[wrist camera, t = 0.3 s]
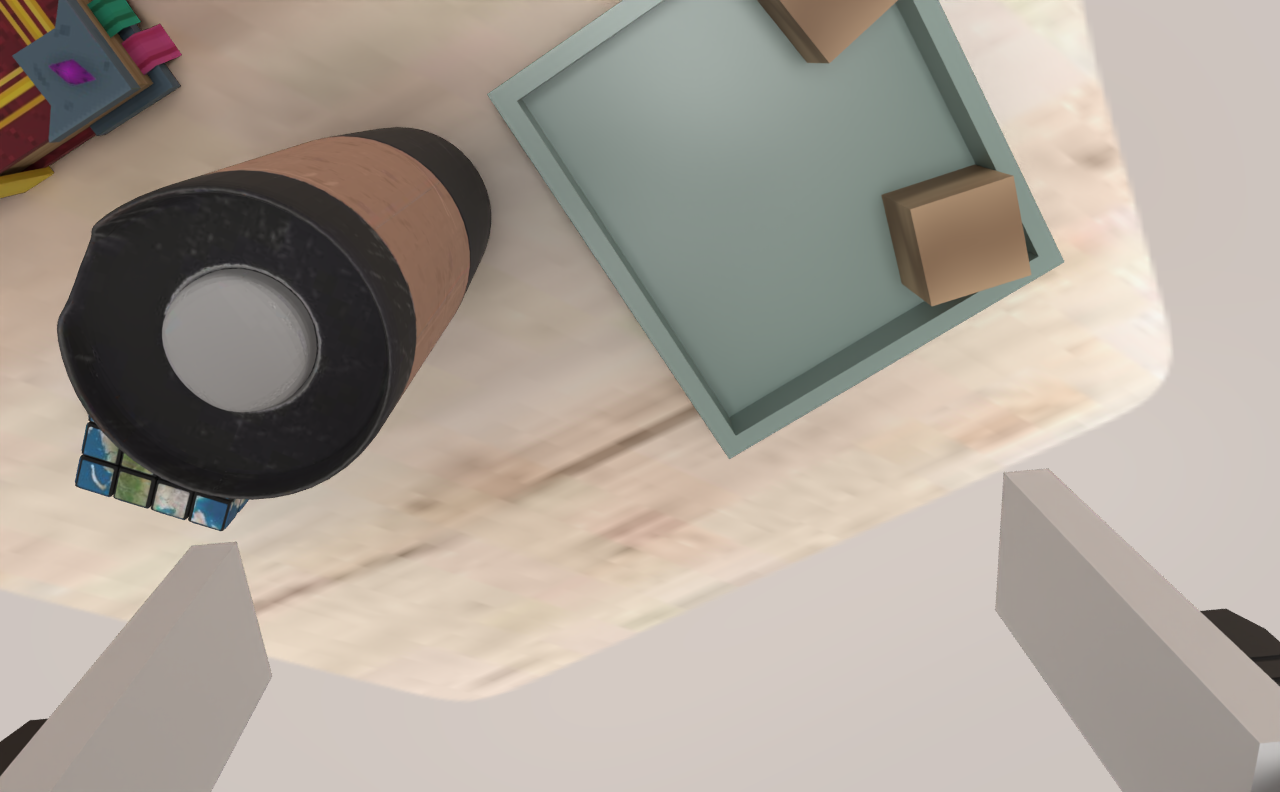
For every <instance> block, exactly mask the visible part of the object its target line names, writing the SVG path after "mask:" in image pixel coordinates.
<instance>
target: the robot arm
mask: <svg viewBox="0 0 1280 792" xmlns="http://www.w3.org/2000/svg"><path fill="white" fill-rule="evenodd" d="M1000 527H1001V528H1000V543H999V559H998V575H997V576H998V577H997V592H996V609H995V610H996V612H997V613H998V615H999V616H1000V617H1001V619H1002V620H1003V621H1004V623H1005V625H1006V626H1007V627H1008V629H1009V630H1010V632H1011V633H1012V635H1013V636H1014V637H1015V639H1016V640H1017V642H1018V643H1019V645H1020V646H1021V647H1022V649H1023V650H1024V652H1025V653H1026V655H1027V656H1028V657H1029V659H1030V660H1031V662H1032V663H1033V664H1034V666H1035V667H1036V669H1037V670H1038V672H1039V673H1040V675H1041V676H1042V677H1043V679H1044V680H1045V682H1046V683H1047V685H1048V686H1049V688H1050V689H1051V690H1052V692H1053V693H1054V695H1055V696H1056V697H1057V699H1058V700H1059V702H1060V703H1061V705H1062V706H1063V708H1064V709H1065V710H1066V712H1067V713H1068V715H1069V716H1070V717H1071V719H1072V720H1073V722H1074V723H1075V725H1076V726H1077V728H1078V729H1079V730H1080V732H1081V733H1082V735H1083V736H1084V738H1085V739H1086V740H1087V742H1088V743H1089V745H1090V746H1091V748H1092V749H1093V750H1094V752H1095V753H1096V755H1097V756H1098V758H1099V759H1100V760H1101V762H1102V763H1103V765H1104V766H1105V767H1106V769H1107V771H1108V772H1109V773H1110V775H1111V776H1112V778H1113V779H1114V781H1115V782H1116V783H1117V785H1118V786H1119V788H1120V789H1121V790H1122V792H1280V642H1279V641H1278V640H1277V639H1276V638H1275V637H1274V636H1273V635H1271V634H1270V633H1269V632H1268V631H1267V630H1266V629H1264V628H1262V627H1260V626H1258V625H1257V624H1255V623H1253V622H1251V621H1249V620H1247V619H1245V618H1243V617H1241V616H1239V615H1237V614H1235V613H1233V612H1231V611H1229V610H1227V609H1218V610H1206V611H1199V610H1198V609H1197V608H1196V607H1195V606H1194V605H1193V604H1192V603H1191V602H1190V601H1188V600H1187V599H1186V598H1185V597H1184V596H1183V595H1182V594H1181V593H1180V592H1179V591H1178V590H1177V589H1176V588H1175V587H1173V585H1171V584H1170V583H1169V582H1168V581H1167V580H1166V579H1165V578H1164V577H1163V576H1162V575H1161V574H1160V573H1159V572H1158V571H1157V570H1156V569H1154V568H1153V567H1152V566H1151V565H1150V564H1149V563H1148V562H1147V561H1146V560H1145V559H1144V558H1143V557H1142V556H1141V555H1140V554H1139V553H1137V552H1136V551H1135V550H1134V549H1133V548H1132V547H1131V546H1130V545H1129V544H1128V543H1127V542H1126V541H1125V540H1124V539H1123V538H1122V537H1120V536H1119V535H1118V534H1117V533H1116V532H1115V531H1114V530H1113V529H1112V528H1111V527H1110V526H1109V525H1108V524H1107V523H1106V522H1104V521H1103V520H1102V519H1101V518H1100V517H1099V516H1098V515H1097V514H1096V513H1095V512H1094V511H1093V510H1092V509H1091V508H1090V507H1089V506H1088V505H1086V504H1085V503H1084V502H1083V501H1082V500H1081V499H1080V498H1079V497H1078V496H1077V495H1076V494H1075V493H1074V492H1073V491H1072V490H1071V489H1070V488H1068V487H1067V486H1066V485H1065V484H1064V483H1063V482H1062V481H1061V480H1060V479H1059V478H1058V477H1057V476H1056V475H1054V473H1053V472H1052V471H1050V470H1049V469H1037V470H1026V471H1015V472H1004V477H1003V493H1002V509H1001V526H1000ZM271 677H272V673H271V669H270V666H269V662H268V658H267V654H266V651H265V647H264V643H263V639H262V635H261V632H260V628H259V624H258V620H257V617H256V613H255V609H254V605H253V602H252V598H251V594H250V590H249V586H248V583H247V579H246V575H245V571H244V568H243V564H242V560H241V556H240V553H239V549H238V545H237V542H229V543H218V544H207V545H195V546H191V547H190V548H189V550H188V551H187V552H186V553H185V554H184V556H183V557H182V558H181V559H180V560H179V562H178V563H177V564H176V565H175V567H174V568H173V569H172V570H171V571H170V573H169V574H168V575H167V576H166V577H165V579H164V580H163V581H162V582H161V583H160V585H159V586H158V587H157V588H156V589H155V591H154V592H153V593H152V594H151V595H150V597H149V598H148V599H147V600H146V601H145V603H144V604H143V605H142V606H141V607H140V609H139V610H138V611H137V612H136V614H135V615H134V616H133V617H132V618H131V620H130V621H129V622H128V623H127V624H126V626H125V627H124V628H123V629H122V630H121V632H120V633H119V634H118V635H117V636H116V638H115V639H114V640H113V641H112V643H111V644H110V645H109V646H108V647H107V648H106V650H105V651H104V652H103V653H102V654H101V656H100V657H99V658H98V659H97V660H96V662H95V663H94V664H93V665H92V667H91V668H90V669H89V670H88V671H87V673H86V674H85V675H84V676H83V677H82V679H81V680H80V681H79V682H78V683H77V685H76V686H75V687H74V688H73V689H72V691H71V692H70V693H69V694H68V695H67V697H66V698H65V699H64V700H63V701H62V703H61V704H60V705H59V706H58V708H57V709H56V710H55V711H54V712H53V714H52V715H51V716H50V717H49V718H48V719H40V720H30V721H28V722H27V723H26V724H24V725H23V726H22V727H20V728H19V729H17V730H16V731H15V732H13V733H12V734H10V735H9V736H8V737H6V738H5V739H4V740H2V741H1V742H0V792H211V791H212V789H213V787H214V785H215V783H216V781H217V780H218V778H219V776H220V774H221V772H222V770H223V768H224V766H225V764H226V763H227V761H228V759H229V757H230V755H231V753H232V751H233V749H234V747H235V746H236V744H237V741H238V740H239V738H240V736H241V734H242V732H243V730H244V728H245V727H246V725H247V723H248V721H249V719H250V717H251V715H252V713H253V712H254V710H255V708H256V706H257V704H258V702H259V700H260V698H261V696H262V695H263V693H264V691H265V689H266V687H267V685H268V683H269V681H270V679H271Z"/></svg>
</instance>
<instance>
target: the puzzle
mask: <svg viewBox="0 0 1280 792" xmlns="http://www.w3.org/2000/svg"><path fill="white" fill-rule="evenodd" d="M88 417H89V419H88V420H89V421H90V422H89V423H87V425H86V430H85V435H84V440H83V445H82V454H83V455H82V456H81V457H80V459H79V464H78V469H77V474H76V479H75V486H76V487H79V488H82V489H85V490H88V491H91V492H95V493H98V494H101V495H104V496H107V497H111V496H112V495H113V494H114V496H113V497H114V498H115V499H118V500H120V501H124V502H127V503H130V504H134V505H137V506H140V507H144V508H149V507H150V506H151V505H152V506H151V509H152V510H154V511H156V512H160V513H163V514H166V515H169V516H173V517H176V518H179V519H182V520H185V519H187V518H188V517H189V518H188V520H189V521H190V522H192V523H195V524H199V525H202V526H205V527H209V528H212V529H215V530H219V531H223V530H224V529H226V527H227V526H228V525H229V524H230V523H231V521H232V520H233V519H234V518H235V516H236V514H237V513H238V512H240V510H241V509H242V508H243V507H244V505H245V504H246V503H247V502H248V500H249V499H230V498H223V497H216V496H210V495H207V494H203V493H199V492H195V491H192V490H189V489H186V488H184V487H181V486H178V485H176V484H173V483H171V482H169V481H167V480H165V479H163V478H161V477H159V476H157V475H155V474H153V473H151V472H150V471H148V470H147V469H145V468H144V467H142V466H141V465H139V464H138V463H136V462H135V461H133V460H132V459H131V458H130V457H128V456H127V455H126V454H125V453H124V452H122V451H121V450H120V449H119V448H117V447H116V446H115V445H114V444H113V443H112V442H111V440H110V439H109V438H108V437H107V436H106V435H105V434H104V433H103V432H102V431H101V430H100V429H99V427H98V426H97V425H96V423H95V422H94V421H93V420H92V418H91V417H90V416H88Z"/></svg>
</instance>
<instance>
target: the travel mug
mask: <svg viewBox="0 0 1280 792" xmlns="http://www.w3.org/2000/svg"><path fill="white" fill-rule="evenodd" d="M490 227H491V209H490V202H489V198H488V194H487V190H486V188H485V185H484V183H483V180H482V179H481V177H480V175H479V173H478V171H477V170H476V168H475V167H474V166H473V164H472V163H471V162H470V160H469V159H468V158H467V157H466V156H465V155H464V154H463V153H462V152H461V151H460V150H458V149H457V148H456V147H455V146H454V145H452V144H451V143H449V142H447V141H446V140H444V139H443V138H440V137H438V136H436V135H434V134H432V133H429V132H426V131H423V130H418V129H413V128H401V127H394V128H383V129H375V130H369V131H363V132H357V133H351V134H345V135H339V136H332V137H327V138H323V139H318V140H314V141H310V142H307V143H303V144H300V145H297V146H294V147H291V148H287V149H284V150H281V151H278V152H275V153H271V154H268V155H265V156H262V157H259V158H256V159H252V160H249V161H246V162H243V163H240V164H236V165H233V166H230V167H227V168H224V169H220V170H217V171H214V172H211V173H208V174H204V175H201V176H198V177H195V178H192V179H188V180H185V181H182V182H179V183H175V184H172V185H169V186H166V187H163V188H160V189H158V190H155V191H152V192H150V193H147V194H144V195H142V196H139V197H137V198H135V199H133V200H131V201H129V202H127V203H125V204H123V205H121V206H120V207H118V208H117V209H115V210H113V211H112V212H110V213H109V214H107V215H106V216H104V217H103V218H102V219H101V220H99V221H98V222H97V223H96V224H95V225H94V226H93V228H92V235H91V240H90V242H89V245H88V248H87V251H86V253H85V256H84V258H83V261H82V263H81V266H80V268H79V271H78V274H77V277H76V280H75V283H74V286H73V288H72V291H71V293H70V296H69V298H68V301H67V303H66V305H65V307H64V309H63V310H62V312H61V314H60V316H59V319H58V324H57V334H58V342H59V347H60V351H61V356H62V359H63V362H64V365H65V368H66V371H67V374H68V377H69V379H70V381H71V383H72V386H73V388H74V390H75V392H76V394H77V396H78V398H79V400H80V401H81V403H82V405H83V406H84V408H85V410H86V411H87V413H88V414H89V416H90V417H91V418H92V420H93V421H94V422H95V423H96V425H97V426H98V427H99V429H100V430H101V431H102V432H103V433H104V434H105V435H106V436H107V437H108V438H109V439H110V440H111V442H112V443H113V444H114V445H115V446H116V447H117V448H119V449H120V450H121V451H122V452H124V453H125V454H126V455H127V456H128V457H130V458H131V459H132V460H133V461H135V462H136V463H138V464H139V465H141V466H142V467H144V468H145V469H147V470H148V471H150V472H151V473H153V474H155V475H157V476H159V477H161V478H163V479H165V480H167V481H169V482H171V483H173V484H176V485H178V486H181V487H184V488H186V489H189V490H192V491H195V492H199V493H203V494H207V495H210V496H216V497H223V498H230V499H251V500H253V499H265V498H275V497H280V496H285V495H290V494H294V493H297V492H300V491H303V490H306V489H309V488H312V487H314V486H316V485H318V484H320V483H322V482H324V481H326V480H328V479H330V478H331V477H333V476H334V475H336V474H337V473H339V472H340V471H341V470H343V469H344V468H346V467H347V466H348V465H349V464H350V463H352V462H353V461H354V460H355V459H356V458H357V457H358V456H359V455H360V454H361V453H362V452H363V451H364V450H365V449H366V447H367V446H368V445H369V444H370V443H371V441H372V440H373V439H374V438H375V437H376V435H377V434H378V432H379V431H380V429H381V427H382V426H383V424H384V423H385V421H386V420H387V418H388V417H389V415H390V413H391V412H392V410H393V409H394V407H395V406H396V404H397V403H398V401H399V400H400V398H401V396H402V395H403V393H404V392H405V390H406V389H407V387H408V386H409V384H410V383H411V381H412V379H413V378H414V376H415V375H416V373H417V372H418V370H419V369H420V367H421V366H422V364H423V362H424V361H425V359H426V358H427V356H428V355H429V353H430V352H431V350H432V349H433V347H434V346H435V344H436V342H437V341H438V339H439V338H440V336H441V335H442V333H443V332H444V330H445V329H446V327H447V325H448V324H449V322H450V321H451V319H452V318H453V316H454V314H455V313H456V311H457V309H458V308H459V306H460V304H461V302H462V300H463V297H464V295H465V293H466V291H467V289H468V287H469V284H470V282H471V280H472V278H473V276H474V274H475V272H476V269H477V267H478V265H479V263H480V261H481V258H482V256H483V254H484V251H485V249H486V246H487V242H488V239H489V234H490Z"/></svg>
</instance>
